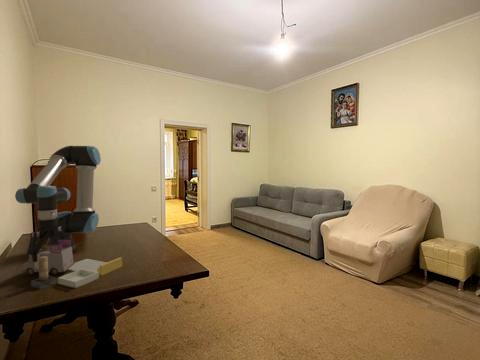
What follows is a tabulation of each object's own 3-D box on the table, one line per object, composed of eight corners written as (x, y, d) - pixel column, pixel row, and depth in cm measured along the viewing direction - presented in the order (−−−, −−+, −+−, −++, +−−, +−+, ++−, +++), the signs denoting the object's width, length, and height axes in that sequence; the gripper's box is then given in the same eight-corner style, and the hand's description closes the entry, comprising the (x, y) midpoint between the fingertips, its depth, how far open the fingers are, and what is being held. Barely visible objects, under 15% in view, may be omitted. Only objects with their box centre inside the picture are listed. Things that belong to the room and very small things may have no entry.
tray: (58, 284, 112) (58, 277, 112) (82, 274, 123) (81, 268, 123) (75, 289, 108) (75, 282, 108) (98, 278, 119) (98, 272, 118)
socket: (31, 286, 110) (30, 280, 110) (47, 280, 116) (46, 275, 116) (40, 289, 108) (40, 283, 108) (56, 282, 114) (56, 277, 114)
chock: (97, 274, 122) (97, 265, 122) (117, 265, 133) (117, 257, 133) (101, 275, 121) (101, 266, 121) (122, 266, 132) (122, 257, 132)
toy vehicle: (36, 266, 130) (32, 238, 127) (75, 266, 130) (73, 238, 128) (21, 276, 120) (17, 246, 118) (63, 276, 121) (60, 246, 118)
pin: (37, 285, 111) (36, 258, 111) (45, 282, 114) (44, 255, 114) (42, 286, 110) (41, 259, 110) (50, 283, 113) (49, 256, 113)
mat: (61, 268, 130) (61, 267, 130) (86, 259, 143) (86, 258, 143) (98, 276, 121) (98, 275, 121) (122, 266, 134) (122, 265, 134)
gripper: (25, 224, 112) (27, 274, 113) (76, 214, 133) (77, 257, 134) (15, 222, 114) (17, 271, 116) (66, 213, 135) (67, 255, 137)
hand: (49, 263), depth 125 cm, fingers open, 10 cm apart
